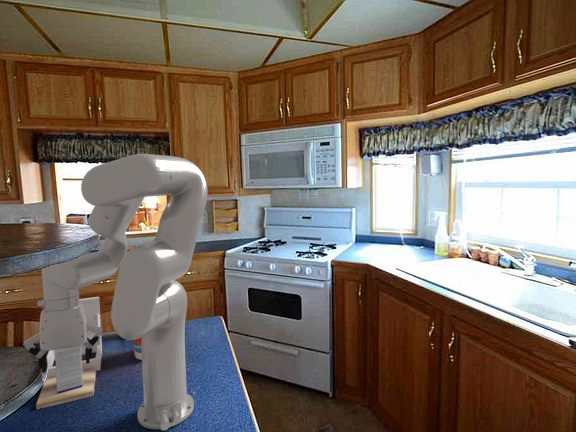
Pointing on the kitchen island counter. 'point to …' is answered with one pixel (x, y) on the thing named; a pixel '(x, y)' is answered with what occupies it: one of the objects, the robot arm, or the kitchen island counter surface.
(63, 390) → the supplement box
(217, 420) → the kitchen island counter surface
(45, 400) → the pine board
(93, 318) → the case
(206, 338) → the kitchen island counter surface
